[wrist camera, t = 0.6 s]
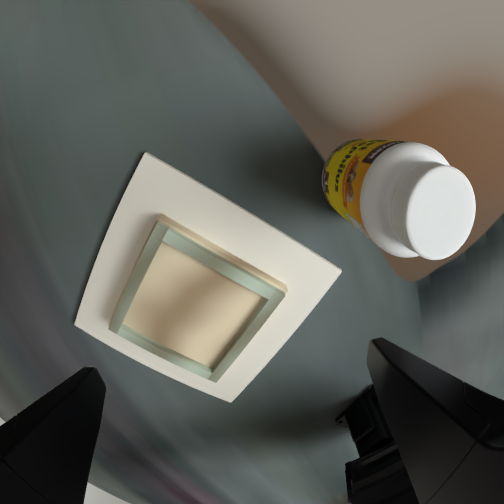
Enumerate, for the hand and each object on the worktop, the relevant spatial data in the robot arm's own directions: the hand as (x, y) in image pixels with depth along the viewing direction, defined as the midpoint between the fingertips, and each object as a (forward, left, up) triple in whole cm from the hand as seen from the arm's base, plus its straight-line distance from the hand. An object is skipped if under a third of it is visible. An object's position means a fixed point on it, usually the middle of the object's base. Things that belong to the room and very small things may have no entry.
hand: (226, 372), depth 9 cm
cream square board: (0, +6, -13) cm, 14 cm away
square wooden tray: (0, +6, -13) cm, 14 cm away
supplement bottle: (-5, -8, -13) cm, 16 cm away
